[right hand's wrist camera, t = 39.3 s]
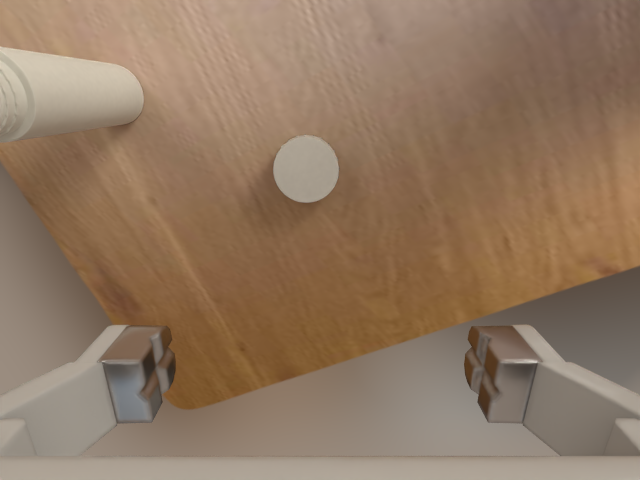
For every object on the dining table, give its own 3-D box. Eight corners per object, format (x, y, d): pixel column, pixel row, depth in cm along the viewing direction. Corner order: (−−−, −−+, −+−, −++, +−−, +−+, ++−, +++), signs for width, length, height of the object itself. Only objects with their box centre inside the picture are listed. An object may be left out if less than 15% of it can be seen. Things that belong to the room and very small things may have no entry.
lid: (341, 137, 34) (343, 140, 33) (334, 200, 37) (335, 206, 35) (276, 131, 34) (274, 133, 32) (273, 194, 36) (270, 200, 34)
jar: (120, 136, 34) (-24, 166, 20) (74, 92, 33) (-116, 90, 19) (155, 97, 33) (30, 99, 19) (109, 50, 32) (-63, 13, 18)
